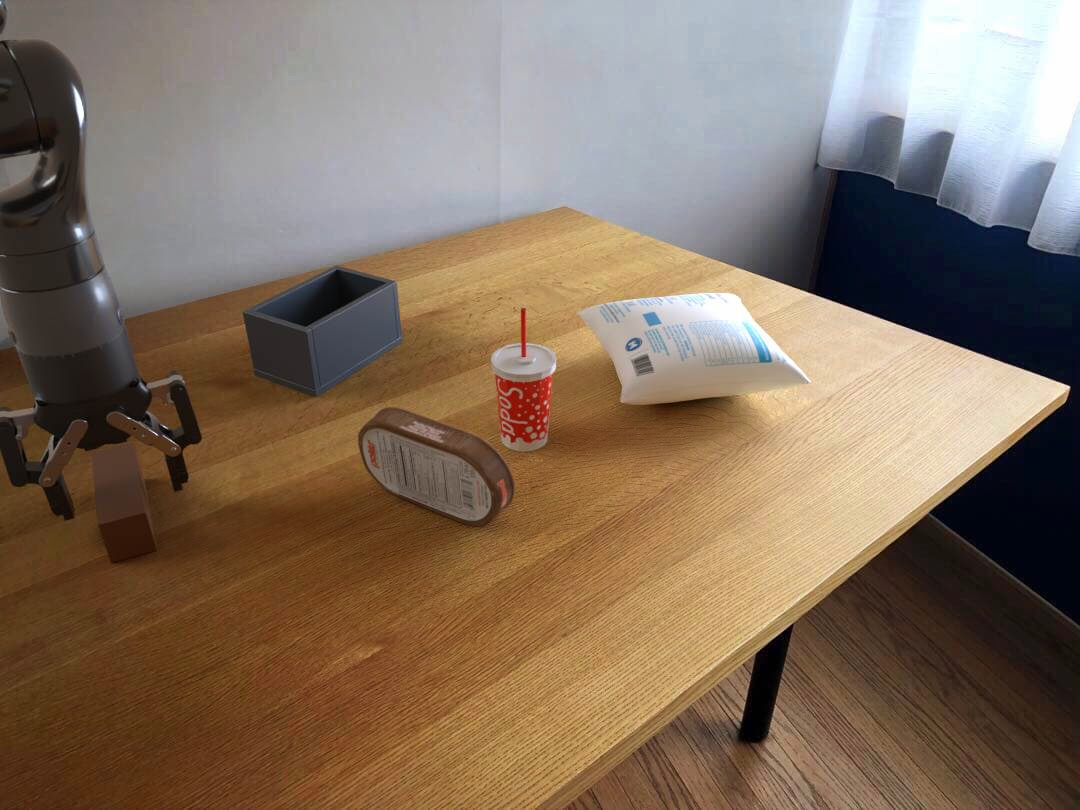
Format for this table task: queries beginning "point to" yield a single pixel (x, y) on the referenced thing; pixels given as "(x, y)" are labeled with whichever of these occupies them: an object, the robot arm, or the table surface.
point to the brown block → (122, 503)
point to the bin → (323, 329)
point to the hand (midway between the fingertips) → (124, 500)
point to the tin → (436, 466)
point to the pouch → (689, 348)
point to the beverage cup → (523, 392)
